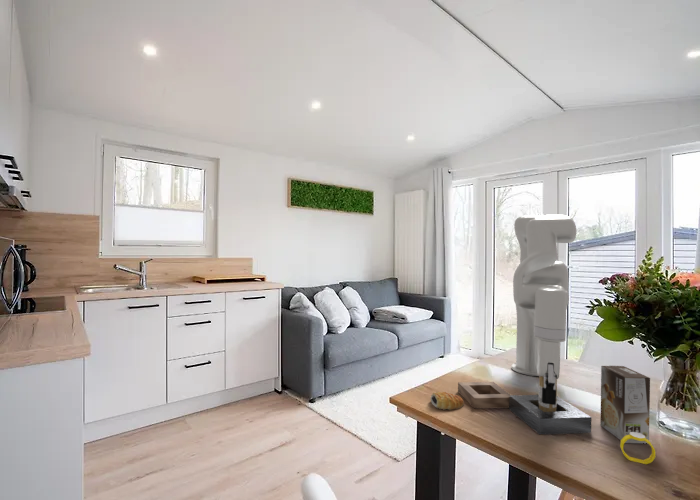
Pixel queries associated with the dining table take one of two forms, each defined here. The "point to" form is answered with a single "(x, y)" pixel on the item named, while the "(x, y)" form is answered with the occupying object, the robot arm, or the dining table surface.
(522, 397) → the block
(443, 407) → the pastry
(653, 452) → the watch
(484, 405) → the holder ring
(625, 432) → the coffee box
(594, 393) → the dining table surface
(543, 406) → the sprinkles bottle
